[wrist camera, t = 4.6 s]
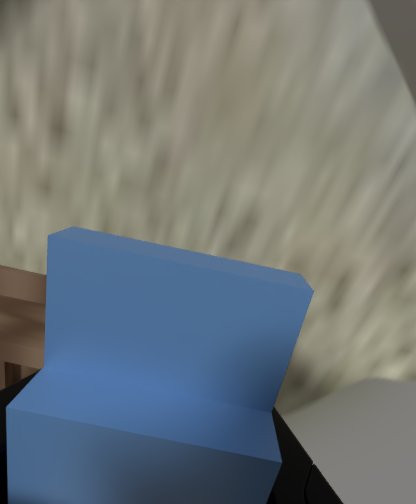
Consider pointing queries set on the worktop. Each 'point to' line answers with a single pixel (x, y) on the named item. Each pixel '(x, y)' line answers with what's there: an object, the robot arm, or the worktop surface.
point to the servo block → (153, 377)
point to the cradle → (21, 324)
